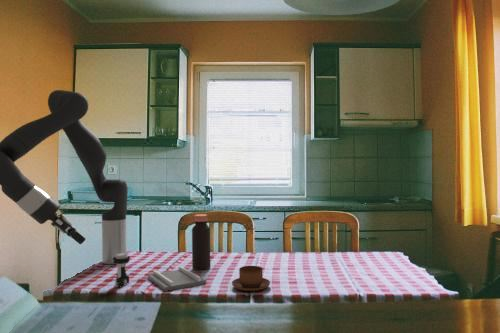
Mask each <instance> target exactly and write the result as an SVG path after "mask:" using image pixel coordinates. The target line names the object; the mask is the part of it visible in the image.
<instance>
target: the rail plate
mask: <svg viewBox="0 0 500 333" xmlns="http://www.w3.org/2000/svg"><path fill="white" fill-rule="evenodd" d="M152 271H153V273H150V274H147V279H148V278H149V279H148V280H150V281H151V282H152V283H153V282H154V284H155V285H156V284H157V285H158V286H157V285H156V286H157V287H158V288H160V287H161V288H162V289H161V288H160V289H161V290H163V291H164V292H168V290H170V291H175V290H180V289H185V288H191V287H195V286H201V285H206V284H207V280H206V279H205V278H203V277H202V276H200V275H198V274H196V273H194V272H193V271H191V270H189V269H187V268H185V267H183V266H182V265H179V266H178V269H175V270H170V271H169V270H168V271H163V272H159V271H157V270H156V269H154V270H152ZM174 289H175V290H174Z"/></svg>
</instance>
